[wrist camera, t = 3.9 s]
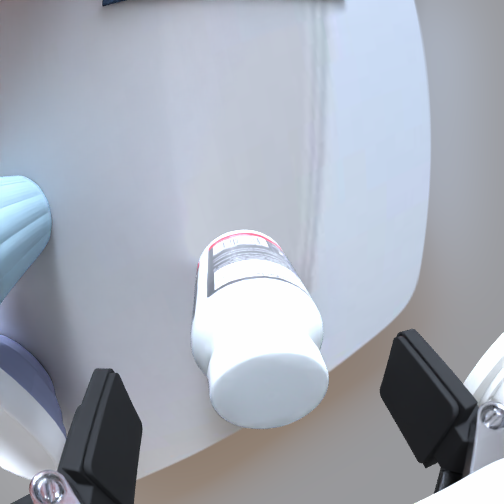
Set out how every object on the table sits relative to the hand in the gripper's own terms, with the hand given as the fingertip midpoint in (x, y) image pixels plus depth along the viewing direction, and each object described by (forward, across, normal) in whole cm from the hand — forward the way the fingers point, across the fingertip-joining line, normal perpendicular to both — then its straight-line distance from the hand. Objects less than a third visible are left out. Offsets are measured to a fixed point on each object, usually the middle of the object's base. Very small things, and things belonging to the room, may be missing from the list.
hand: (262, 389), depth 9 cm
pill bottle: (+10, 0, 0) cm, 10 cm away
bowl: (+10, +21, +8) cm, 24 cm away
